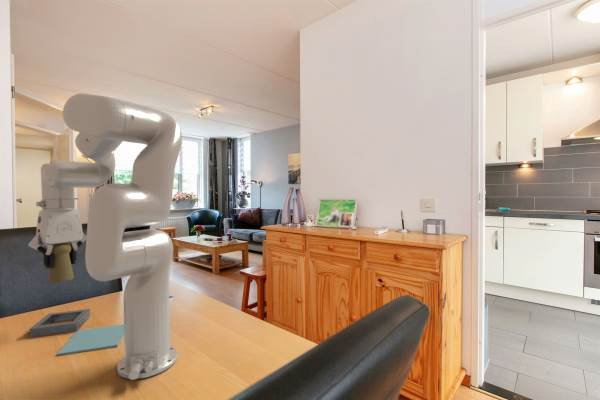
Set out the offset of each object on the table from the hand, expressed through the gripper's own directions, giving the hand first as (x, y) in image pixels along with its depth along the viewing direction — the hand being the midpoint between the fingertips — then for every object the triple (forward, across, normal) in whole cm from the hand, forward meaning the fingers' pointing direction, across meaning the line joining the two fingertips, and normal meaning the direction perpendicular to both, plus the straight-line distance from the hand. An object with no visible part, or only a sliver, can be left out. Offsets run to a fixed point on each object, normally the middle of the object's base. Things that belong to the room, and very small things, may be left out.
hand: (60, 264), depth 88 cm
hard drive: (+20, +27, -5) cm, 34 cm away
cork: (+5, 0, 0) cm, 5 cm away
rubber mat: (+19, 0, -17) cm, 26 cm away
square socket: (+19, 0, 0) cm, 19 cm away
